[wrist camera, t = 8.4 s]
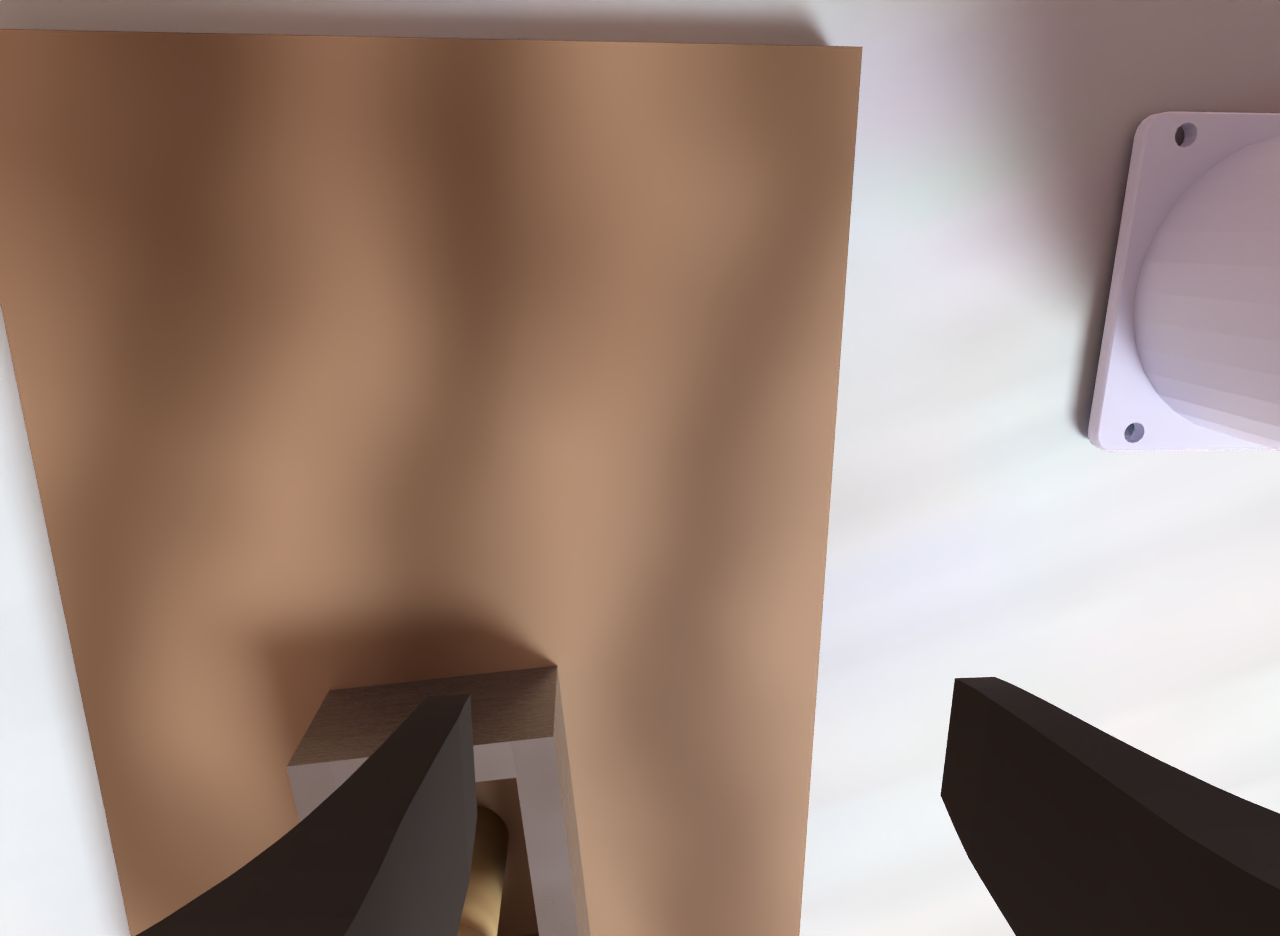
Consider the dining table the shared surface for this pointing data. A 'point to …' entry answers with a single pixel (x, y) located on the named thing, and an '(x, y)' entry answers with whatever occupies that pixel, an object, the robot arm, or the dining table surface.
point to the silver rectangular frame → (503, 748)
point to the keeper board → (439, 428)
